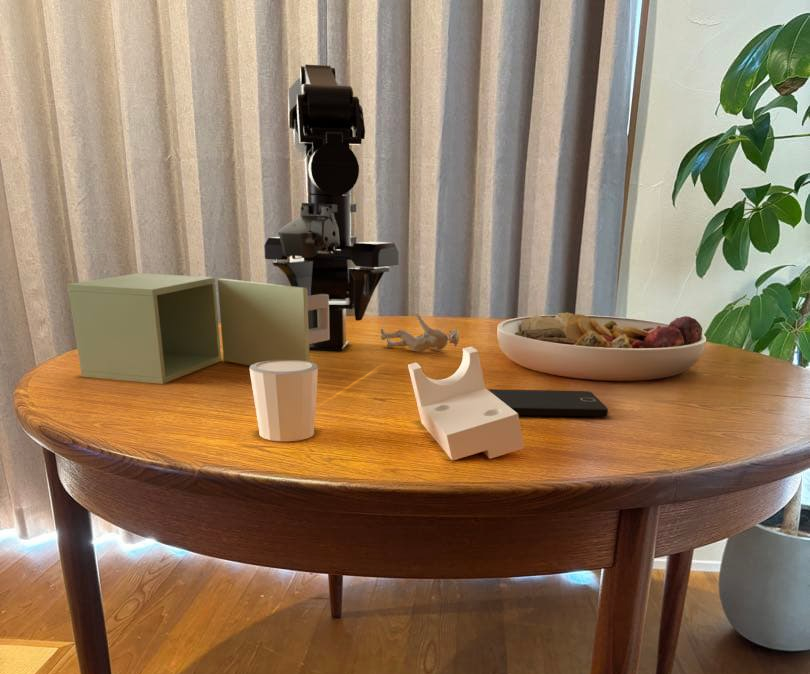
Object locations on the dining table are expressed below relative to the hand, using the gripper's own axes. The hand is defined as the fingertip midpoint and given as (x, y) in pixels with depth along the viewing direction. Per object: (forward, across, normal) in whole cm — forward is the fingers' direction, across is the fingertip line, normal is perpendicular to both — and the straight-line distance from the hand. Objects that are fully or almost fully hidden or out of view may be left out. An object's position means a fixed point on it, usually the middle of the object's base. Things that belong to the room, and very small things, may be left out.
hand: (331, 317), depth 107 cm
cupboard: (+7, -18, -16) cm, 25 cm away
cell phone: (+7, +32, -6) cm, 33 cm away
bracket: (+7, +32, -22) cm, 39 cm away
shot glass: (+7, +16, -30) cm, 35 cm away
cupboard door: (+7, -6, -4) cm, 10 cm away
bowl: (+7, +31, +24) cm, 40 cm away
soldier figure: (+7, +5, +17) cm, 19 cm away
